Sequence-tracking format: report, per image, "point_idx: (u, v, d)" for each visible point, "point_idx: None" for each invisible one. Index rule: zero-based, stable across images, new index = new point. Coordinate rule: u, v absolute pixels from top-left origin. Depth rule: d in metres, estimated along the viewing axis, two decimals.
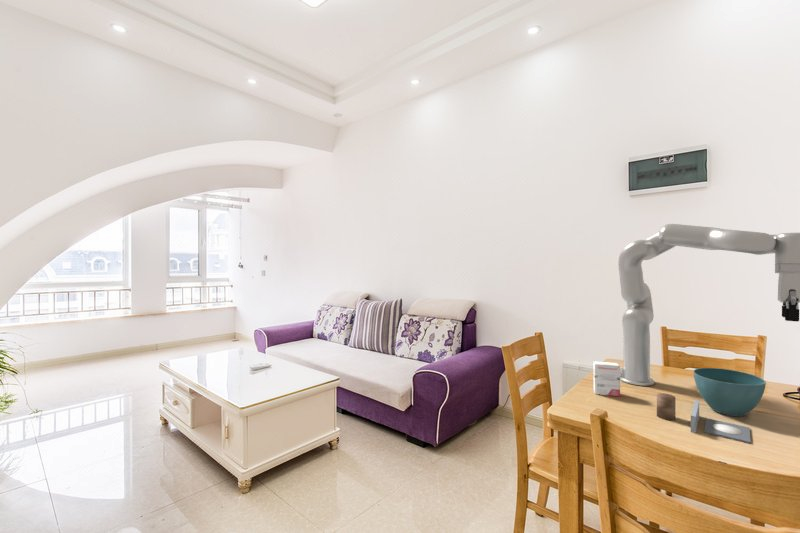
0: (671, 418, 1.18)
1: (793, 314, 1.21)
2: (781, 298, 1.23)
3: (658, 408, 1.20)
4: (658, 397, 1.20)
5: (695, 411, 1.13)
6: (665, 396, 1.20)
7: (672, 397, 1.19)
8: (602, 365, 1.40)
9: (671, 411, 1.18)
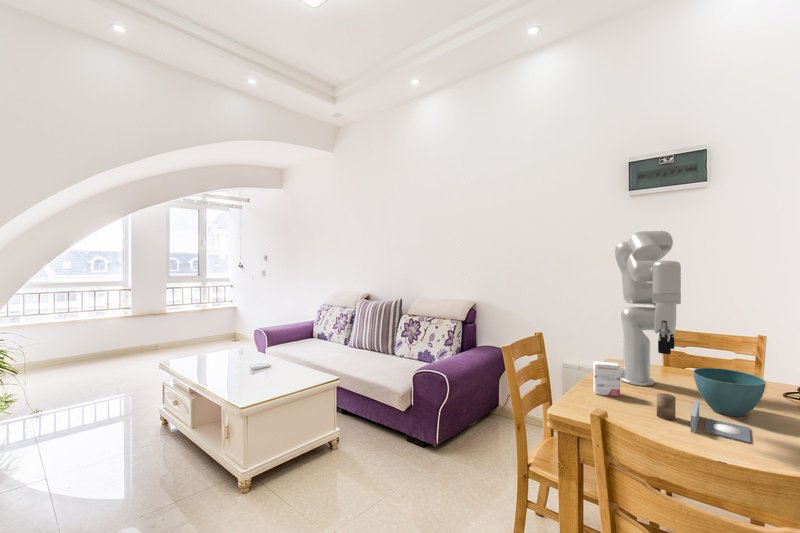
0: (671, 418, 1.18)
1: (664, 347, 1.15)
2: (655, 329, 1.18)
3: (658, 408, 1.20)
4: (658, 397, 1.20)
5: (695, 411, 1.13)
6: (665, 396, 1.20)
7: (672, 397, 1.19)
8: (602, 365, 1.40)
9: (671, 411, 1.18)
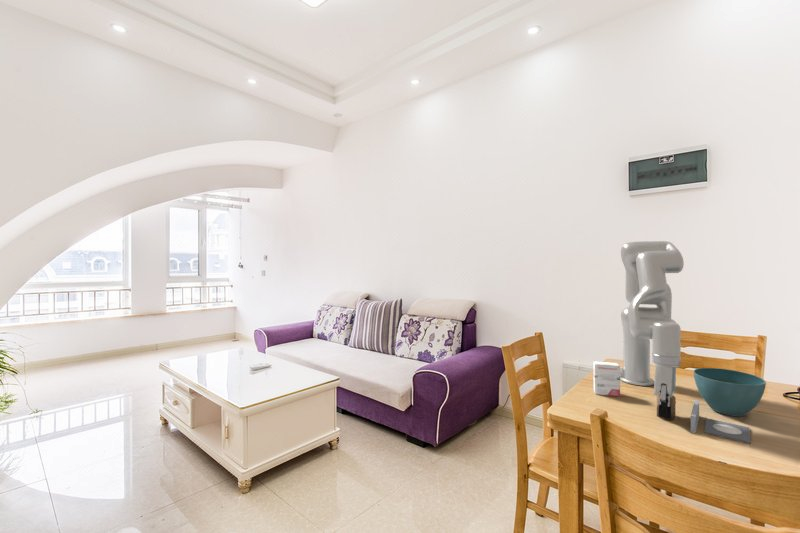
0: (671, 418, 1.18)
1: (665, 411, 1.17)
2: (654, 391, 1.18)
3: (658, 408, 1.20)
4: (658, 397, 1.20)
5: (695, 411, 1.13)
6: None
7: (672, 397, 1.19)
8: (602, 365, 1.40)
9: (671, 411, 1.18)
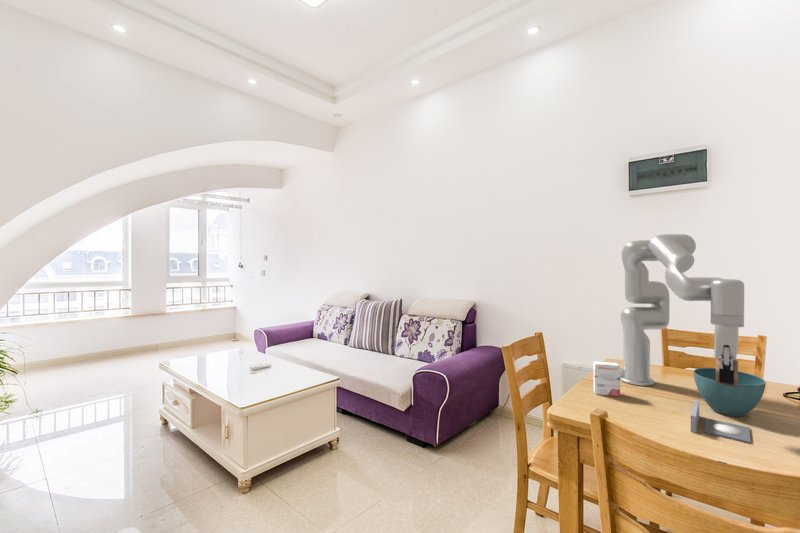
0: (734, 383, 1.08)
1: (727, 376, 1.07)
2: (715, 354, 1.08)
3: (718, 373, 1.10)
4: (718, 361, 1.10)
5: (695, 411, 1.13)
6: None
7: (734, 361, 1.09)
8: (602, 365, 1.40)
9: None
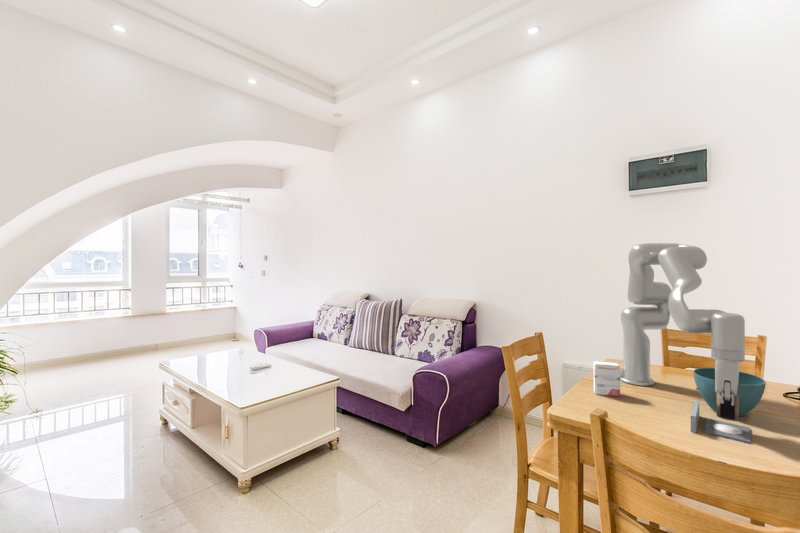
0: (735, 418, 1.08)
1: (728, 411, 1.07)
2: (716, 389, 1.08)
3: (719, 407, 1.10)
4: (719, 395, 1.10)
5: (695, 411, 1.13)
6: None
7: None
8: (602, 365, 1.40)
9: None
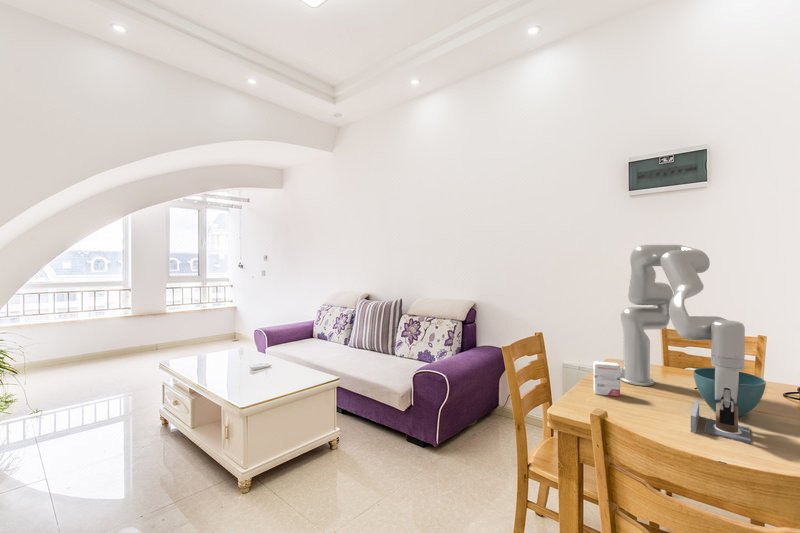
0: (734, 430, 1.08)
1: (728, 417, 1.06)
2: (715, 396, 1.08)
3: (718, 419, 1.10)
4: (718, 407, 1.10)
5: (695, 411, 1.13)
6: None
7: (734, 407, 1.09)
8: (602, 365, 1.40)
9: (734, 423, 1.08)
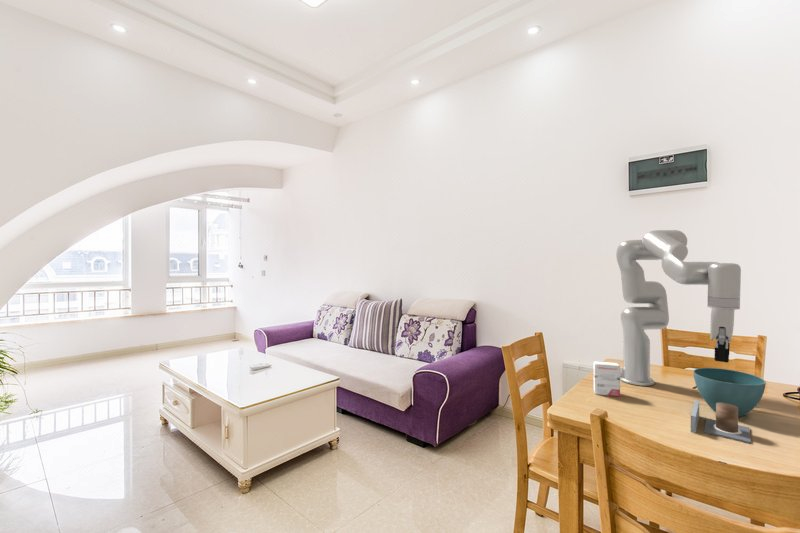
0: (734, 430, 1.08)
1: (722, 354, 1.09)
2: (711, 336, 1.11)
3: (718, 419, 1.10)
4: (718, 407, 1.10)
5: (695, 411, 1.13)
6: (726, 406, 1.10)
7: (734, 407, 1.09)
8: (602, 365, 1.40)
9: (734, 423, 1.08)
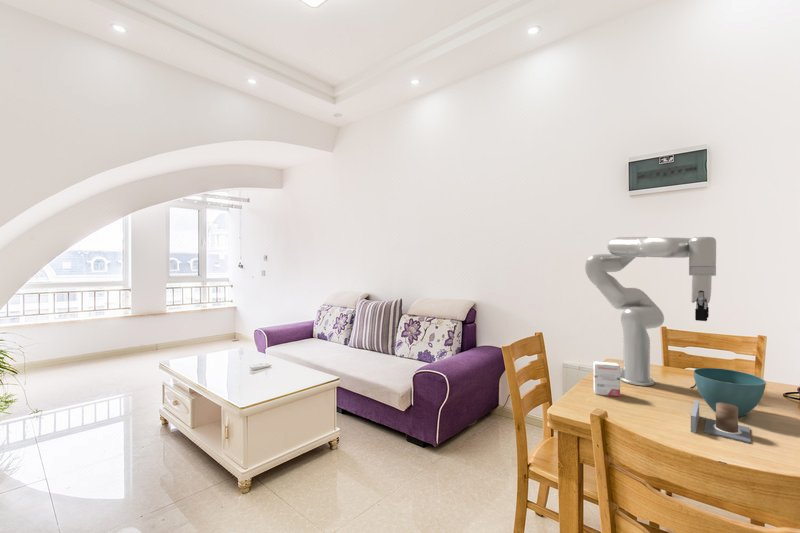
0: (734, 430, 1.08)
1: (701, 314, 1.27)
2: (692, 299, 1.30)
3: (718, 419, 1.10)
4: (718, 407, 1.10)
5: (695, 411, 1.13)
6: (726, 406, 1.10)
7: (734, 407, 1.09)
8: (602, 365, 1.40)
9: (734, 423, 1.08)
